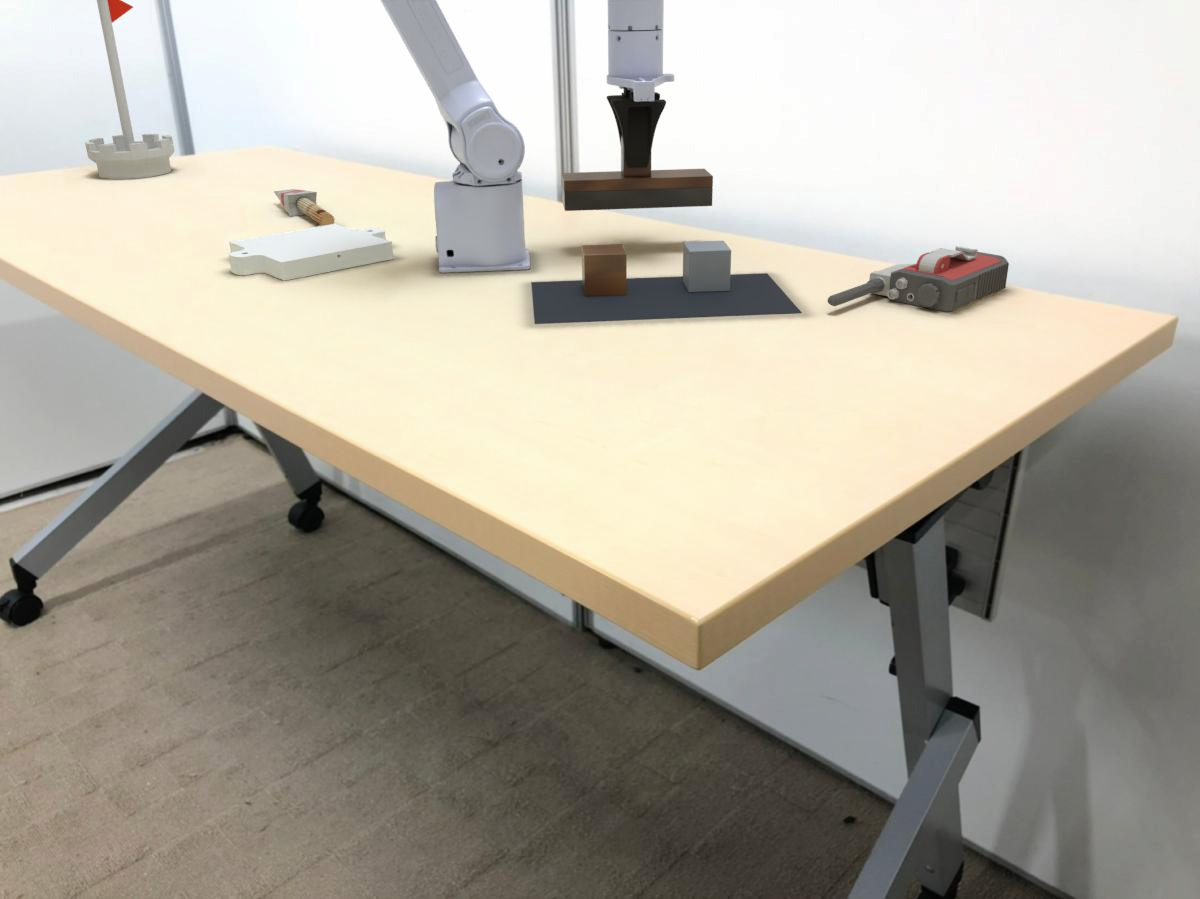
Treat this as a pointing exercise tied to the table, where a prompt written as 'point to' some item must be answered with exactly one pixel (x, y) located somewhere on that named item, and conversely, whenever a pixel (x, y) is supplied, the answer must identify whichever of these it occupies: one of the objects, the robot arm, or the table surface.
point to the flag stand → (125, 120)
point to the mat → (659, 300)
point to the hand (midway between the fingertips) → (635, 165)
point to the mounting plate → (309, 251)
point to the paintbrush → (304, 205)
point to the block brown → (604, 270)
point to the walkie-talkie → (936, 280)
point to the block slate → (706, 266)
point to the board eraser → (636, 188)
